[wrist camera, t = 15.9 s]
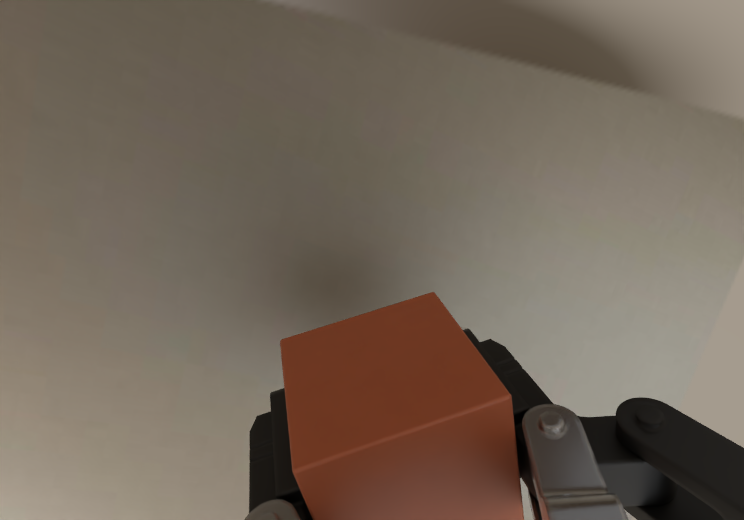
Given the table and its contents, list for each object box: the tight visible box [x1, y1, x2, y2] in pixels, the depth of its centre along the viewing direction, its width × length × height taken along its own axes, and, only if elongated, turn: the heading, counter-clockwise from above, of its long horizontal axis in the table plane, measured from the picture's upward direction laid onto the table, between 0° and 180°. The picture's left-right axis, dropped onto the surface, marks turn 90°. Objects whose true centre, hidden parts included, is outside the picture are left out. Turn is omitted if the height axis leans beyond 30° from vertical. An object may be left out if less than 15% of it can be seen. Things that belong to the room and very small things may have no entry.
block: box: [280, 292, 524, 520], centre depth 12 cm, size 5×5×5 cm
